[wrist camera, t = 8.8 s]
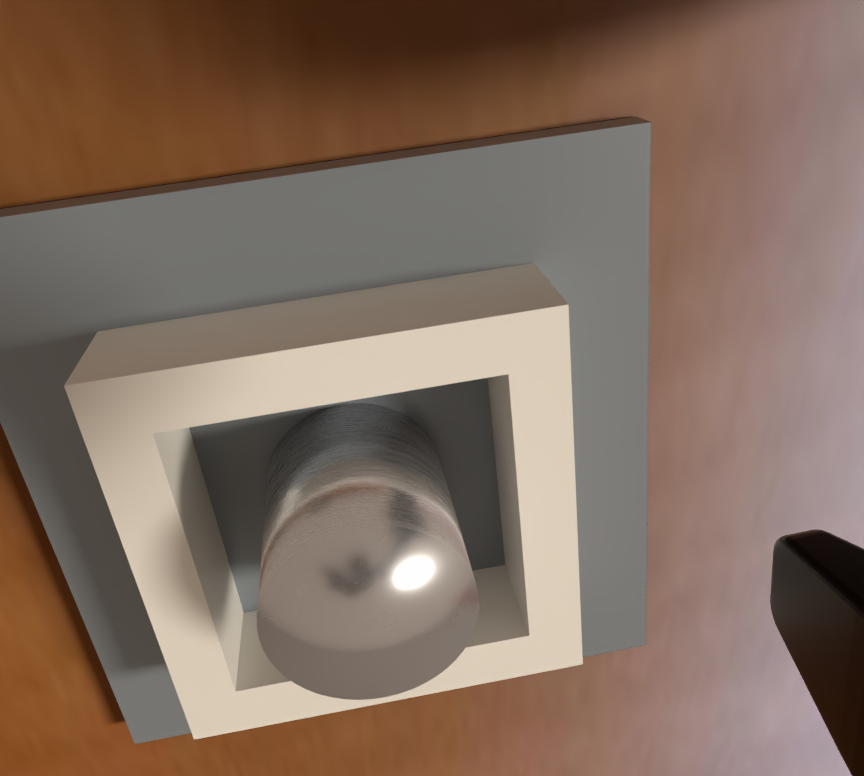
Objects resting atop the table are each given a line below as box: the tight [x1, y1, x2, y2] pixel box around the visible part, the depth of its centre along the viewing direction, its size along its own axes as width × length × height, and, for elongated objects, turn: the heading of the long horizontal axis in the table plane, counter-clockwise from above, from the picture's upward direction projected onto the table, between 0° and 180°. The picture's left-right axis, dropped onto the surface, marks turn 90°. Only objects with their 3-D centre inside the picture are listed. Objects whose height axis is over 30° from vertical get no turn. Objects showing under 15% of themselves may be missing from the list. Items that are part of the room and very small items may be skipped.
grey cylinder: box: [257, 403, 479, 700], centre depth 16 cm, size 4×4×5 cm
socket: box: [0, 116, 651, 744], centre depth 18 cm, size 14×14×3 cm
